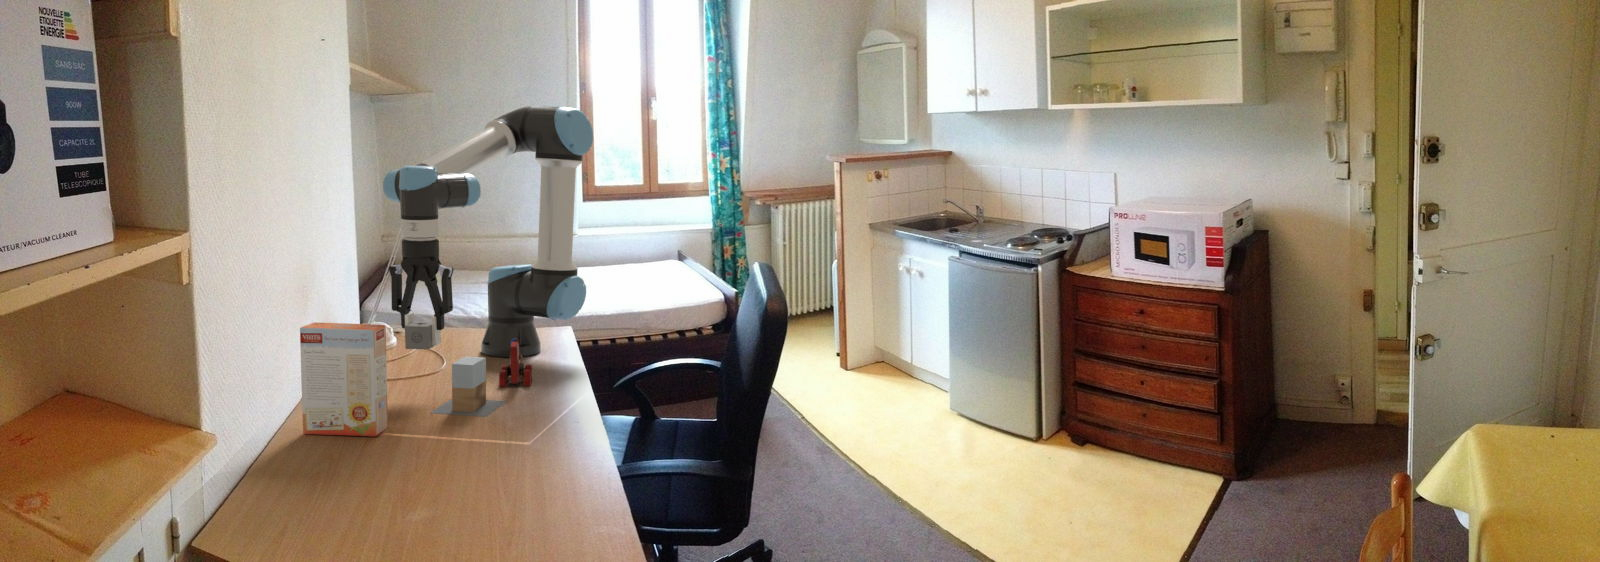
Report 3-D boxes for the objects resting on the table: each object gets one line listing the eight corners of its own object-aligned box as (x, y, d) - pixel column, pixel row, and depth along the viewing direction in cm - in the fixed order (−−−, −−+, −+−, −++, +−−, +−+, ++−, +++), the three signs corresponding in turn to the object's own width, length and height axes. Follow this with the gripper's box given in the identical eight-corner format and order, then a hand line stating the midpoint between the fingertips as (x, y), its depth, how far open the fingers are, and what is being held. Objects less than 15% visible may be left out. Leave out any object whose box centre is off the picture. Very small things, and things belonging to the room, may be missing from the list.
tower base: (466, 401, 211) (465, 379, 210) (485, 403, 210) (485, 380, 210) (452, 410, 204) (452, 387, 203) (472, 412, 203) (472, 388, 203)
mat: (453, 399, 213) (453, 397, 213) (507, 403, 213) (507, 401, 212) (429, 414, 201) (429, 412, 201) (486, 418, 201) (486, 416, 201)
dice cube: (436, 344, 216) (436, 322, 215) (428, 349, 211) (428, 326, 210) (414, 343, 216) (413, 321, 215) (405, 348, 211) (404, 326, 210)
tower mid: (465, 379, 210) (465, 356, 209) (485, 380, 210) (485, 357, 209) (452, 387, 203) (451, 363, 202) (472, 388, 203) (472, 365, 202)
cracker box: (389, 428, 191) (387, 323, 188) (375, 438, 185) (373, 329, 182) (317, 425, 191) (314, 320, 188) (301, 434, 185) (298, 326, 182)
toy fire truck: (532, 377, 235) (532, 335, 234) (529, 390, 223) (530, 346, 222) (502, 377, 234) (502, 335, 232) (498, 391, 222) (498, 346, 220)
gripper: (370, 238, 208) (374, 345, 212) (454, 242, 206) (457, 349, 210) (387, 234, 215) (391, 337, 219) (468, 237, 214) (471, 341, 218)
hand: (423, 343), depth 215 cm, fingers closed on dice cube, 5 cm apart
